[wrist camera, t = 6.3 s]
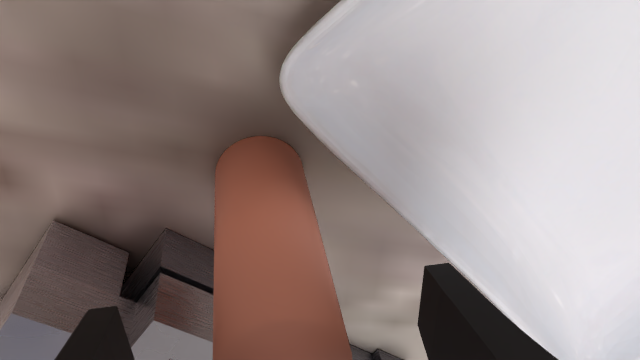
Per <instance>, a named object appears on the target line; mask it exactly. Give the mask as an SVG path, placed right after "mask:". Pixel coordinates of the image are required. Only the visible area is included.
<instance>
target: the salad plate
mask: <svg viewBox="0 0 640 360" xmlns="http://www.w3.org/2000/svg"><path fill="white" fill-rule="evenodd" d="M279 84H280V90H281V93H282V95H283V97H284V99H285V101H286V102H287V104H288V105H289V107H290V108H291V110H292V111H293V113H294V114H295V115H296V116H297V117H298V118H299V119H300V120H301V121H302V122H303V123H304V125H305V126H306V127H307V128H308V129H309V130H310V131H311V132H312V133H313V134H314V135H315V136H316V137H317V138H318V139H319V140H320V141H321V142H322V143H323V144H324V145H325V146H326V147H327V148H328V149H329V150H330V151H331V152H332V153H333V154H334V155H335V156H336V157H337V158H338V159H340V160H341V161H342V162H343V163H344V164H345V165H346V166H348V167H349V168H350V169H351V170H352V171H353V172H354V173H355V174H356V175H357V176H358V177H359V178H361V179H362V180H363V181H364V182H365V183H366V184H367V185H368V186H369V187H370V188H372V189H373V190H374V191H375V192H376V193H377V194H378V195H379V196H380V197H381V198H383V199H384V200H385V201H386V202H387V203H388V204H389V205H390V206H391V207H392V208H393V209H394V210H395V211H396V212H398V213H399V214H400V215H401V216H402V217H403V218H404V219H405V220H406V221H407V222H409V223H410V224H411V225H412V226H413V227H414V228H415V229H416V230H417V231H418V232H419V233H420V234H421V235H423V236H424V237H425V238H426V239H427V240H428V241H429V242H430V243H431V244H432V245H433V246H434V247H435V248H436V249H437V250H438V251H439V252H440V253H442V254H443V255H444V256H445V257H446V258H447V259H448V260H449V261H450V262H451V263H452V264H453V265H454V266H455V267H456V268H457V269H458V270H459V271H461V272H462V273H463V274H464V275H465V276H466V277H467V278H468V279H469V280H470V281H471V282H472V283H473V284H474V285H475V286H476V287H477V288H478V289H479V290H480V291H481V292H482V293H483V294H484V295H485V296H486V297H487V298H488V299H489V300H490V301H491V302H492V303H493V304H494V305H495V306H496V307H497V308H498V309H499V310H500V311H501V312H502V313H503V314H504V315H505V316H506V317H508V318H509V319H510V320H511V321H512V322H513V323H514V324H516V325H517V326H518V327H519V328H520V329H521V330H522V331H524V332H525V333H526V334H527V335H528V336H530V337H531V338H532V339H533V340H534V341H536V342H537V343H538V344H539V345H541V346H542V347H543V348H544V349H546V350H547V351H548V352H549V353H551V354H552V355H553V356H554V357H556V358H557V359H558V360H640V0H341V1H340V2H339V3H337V4H336V5H335V6H334V7H333V8H332V9H331V10H330V11H329V12H327V13H326V14H325V15H324V16H323V17H322V18H321V19H320V20H319V21H317V22H316V23H315V24H314V25H313V26H312V27H311V28H310V29H309V30H308V31H307V32H306V34H305V35H304V36H303V37H302V38H301V39H300V40H299V41H298V42H297V43H296V44H295V45H294V46H293V48H292V49H291V50H290V52H289V53H288V55H287V57H286V58H285V60H284V62H283V64H282V66H281V71H280V76H279Z"/></svg>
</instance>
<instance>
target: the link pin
mask: <svg viewBox="0 0 640 360" xmlns="http://www.w3.org/2000/svg"><path fill="white" fill-rule="evenodd" d="M213 360H352V352H351V348H350V344H349V340H348V337H347V333H346V329H345V325H344V322H343V318H342V314H341V310H340V306H339V303H338V299H337V295H336V291H335V287H334V284H333V280H332V276H331V272H330V268H329V265H328V261H327V257H326V253H325V249H324V246H323V242H322V238H321V234H320V230H319V227H318V223H317V219H316V215H315V212H314V208H313V204H312V200H311V196H310V193H309V189H308V185H307V181H306V177H305V174H304V170H303V166H302V162H301V160H300V158H299V156H298V154H297V153H296V151H295V150H294V149H293V148H292V147H291V146H290V145H288V144H287V143H285V142H283V141H281V140H279V139H276V138H273V137H268V136H254V137H249V138H245V139H242V140H240V141H238V142H236V143H234V144H233V145H231V146H230V147H229V148H228V149H226V150H225V152H224V153H223V154H222V155H221V157H220V159H219V160H218V163H217V166H216V171H215V223H214V294H213Z"/></svg>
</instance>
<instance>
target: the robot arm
mask: <svg viewBox="0 0 640 360" xmlns="http://www.w3.org/2000/svg"><path fill="white" fill-rule="evenodd" d="M418 327H419V331H420V334H421V337H422V341H423V344H424V347H425V350H426V353H427V357H428V360H558V359H557V358H556V357H554V356H553V355H552V354H551V353H549V352H548V351H547V350H546V349H544V348H543V347H542V346H541V345H539V344H538V343H537V342H536V341H534V340H533V339H532V338H531V337H530V336H528V335H527V334H526V333H525V332H524V331H522V330H521V329H520V328H519V327H518V326H517V325H516V324H514V323H513V322H512V321H511V320H510V319H509V318H508V317H506V316H505V315H504V314H503V313H502V312H501V311H500V310H498V309H497V308H496V307H495V306H494V305H493V304H492V303H491V302H490V301H489V300H488V299H487V298H485V297H484V296H483V295H482V294H481V293H480V292H479V291H478V290H477V289H476V288H475V287H474V286H473V285H472V284H471V283H470V282H469V281H468V280H466V279H465V278H464V277H463V276H462V275H461V274H460V273H459V272H458V271H457V270H456V269H455V268H454V267H453V266H452V265H451V264H449V263H444V264H437V265H429V266H425V267H424V275H423V284H422V292H421V301H420V309H419V318H418ZM54 360H135V359H134V356H133V353H132V350H131V347H130V344H129V341H128V338H127V334H126V331H125V328H124V325H123V322H122V319H121V316H120V313H119V310H118V307H117V306H111V307H103V308H95V309H89V310H88V311H87V312H86V313H85V314H84V316H83V317H82V319H81V320H80V322H79V323H78V325H77V327H76V328H75V330H74V331H73V333H72V334H71V336H70V337H69V339H68V340H67V342H66V343H65V345H64V346H63V348H62V349H61V351H60V352H59V353H58V355H57V356H56V358H55V359H54Z"/></svg>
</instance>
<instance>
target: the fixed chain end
mask: <svg viewBox="0 0 640 360" xmlns="http://www.w3.org/2000/svg"><path fill="white" fill-rule="evenodd" d="M160 273H162V274H165V275H167V276H170V277H172V278H174V279H177V280H179V281H181V282H184V283H186V284H189V285H191V286H193V287H196V288H198V289H200V290H203V291H205V292H208V293H210V294H212V295H213V294H214V250H212V249H210V248H207V247H205V246H203V245H201V244H199V243H197V242H194V241H192V240H190V239H188V238H186V237H184V236H182V235H179V234H177V233H175V232H173V231H171V230H169V229H167V228H166V229H165V230H164V232H163V233H162V234H161V236H160V237H159V238H158V240H157V241H156V242H155V244H154V245H153V246H152V248H151V249H150V250H149V252H148V253H147V254H146V255H145V257H144V258H143V259H142V261H141V262H140V263H139V265H138V266H137V267H136V269H135V270H134V271H133V273H132V274H131V275H130V276H129V278H128V279H127V280H126V282H125V283H124V284H123V286H122V287H121V291H120V295H119V296H121V297H123V298H126V299H128V300H131V301H134V302H136V303H137V302H138V300H139V299H140V298H141V297H142V295H143V294H144V293H145V291H146V290H147V289H148V288H149V286H150V285H151V284H152V283H153V281H154V280H155V279H156V278H157V276H158V275H159V274H160ZM350 348H351V352H352V360H402V359H400V358H397V357H395V356H393V355H390V354H388V353H386V352H384V351H381V350H379V349H377V350H376V351H375V352H374V353H373V354H370V353H368V352H366V351H364V350H361V349H359V348H357V347H354V346H352V345H350Z"/></svg>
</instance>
